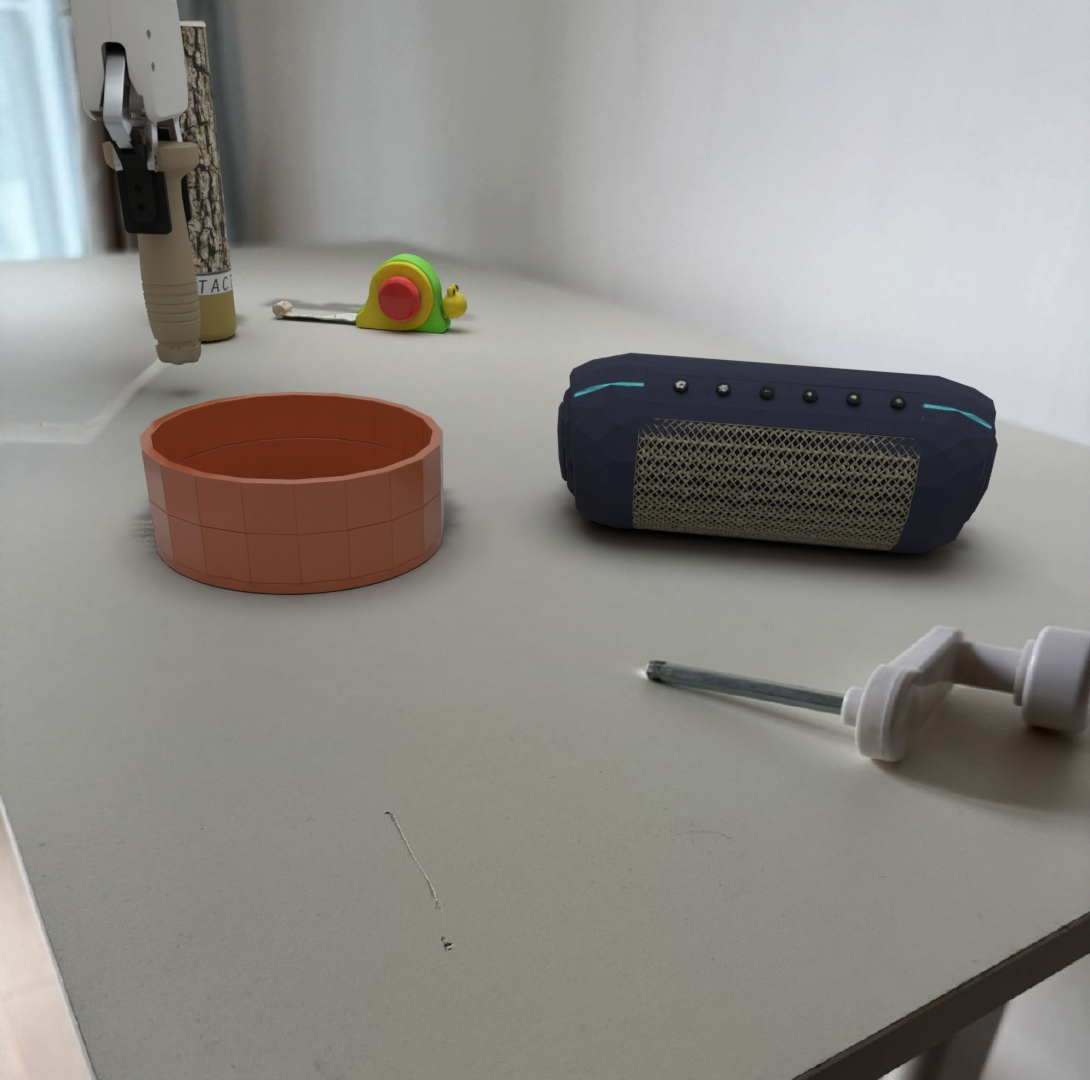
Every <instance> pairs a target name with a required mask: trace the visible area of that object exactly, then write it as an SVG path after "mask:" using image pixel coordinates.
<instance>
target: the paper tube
mask: <svg viewBox="0 0 1090 1080" xmlns="http://www.w3.org/2000/svg"><path fill="white" fill-rule="evenodd" d="M179 20H180V27H181V34H182V41H183V49H184V57H185V65H186V75H187V86H188V107H187V109H186V110H185V111H184V112H183V113H182V114H181V115H180V116H179V124H180V125H181V128H180V130H181V136H182V142H190V143H196V144H198V151H199V164H198V165H197V167H195V168H194V169H193V170H192V171H190V172H188V173H187V179H188V187H189V195H190V203H191V212H192V219H191V220H190V221H189V222H186V224H187V230H188V236H189V241H190V246H191V251H192V257H193V262H194V267H195V272H196V278H197V280H196V282H197V284H198V290H197V291H198V292H199V299H198V300H199V301H200V307H199V309H200V320H201V328H200V337H199V338H198V341H201V343H204V342H203V341H206V342H215V340H216V341H221V340H226V339H229V338H231V337H232V336H233V335H235V333H236V331H237V327H238V325H237V316H236V306H235V296H234V284H233V274H232V268H231V267H232V265H231V263H232V262H231V254H230V245H229V234H228V225H227V224H228V223H227V216H226V206H225V205H226V204H225V197H224V196H225V195H224V187H223V186H224V185H223V175H222V166H221V156H220V148H219V146H220V145H219V137H218V127H217V119H216V117H217V116H216V109H215V99H214V98H215V97H214V89H213V88H214V87H213V80H212V71H211V61H210V60H211V59H210V49H209V40H208V31H207V26H206V25H207V24H206V23H205V21H204V20H203V19H199V18H182V17H179ZM130 115H131V118H135V114H134V113H130Z"/></svg>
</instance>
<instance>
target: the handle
mask: <svg viewBox="0 0 1090 1080" xmlns="http://www.w3.org/2000/svg"><path fill="white" fill-rule="evenodd" d="M143 142H144V144H145V140H143ZM102 151H103V157H104V161H105V164H107V166H109V167H110V168H111V169H112V170H115V171H116V169H115V166H114V160H113V146H112V144H111V142H110V140H108V141H105V142H103V143H102ZM158 155H159V171H165V176H166V183H167V191H168V199H169V206H170V214H171V222H172V231H171V233H169V234H166V235H162V234H136V235H137V246H138V256H139V257H138V258H139V270H140V279H141V288H142V291H143V292H142V293H143V299H144V306H145V309H146V315H147V318H148V322H149V323H148V324H149V327H150V329H151V330H150V331H151V333H152V336H153V338H154V339H155V340H156V341H157V344H155V345H154V346H155V347H154V348H155V351H156V355H157V358H158V360H159V361H160V362H161V363H164V364H173V365H175V366H182V365H185V364H195V363H197V362H199V360H200V358H201V356H202V342H201V341H198V338H199V337H200V328H201V320H200V309H199V307H200V301H199V300H198V299H199V292H198V291H197V290H198V284H197V282H196V280H197V278H196V272H195V267H194V262H193V257H192V251H191V246H190V241H189V236H188V230H187V224H186V218H185V212H184V206H183V201H182V193H181V179H182V178H183V176H184V175H186V174H187V173H188V172H190V171H192V170H193V169H194V168H195V167H197V165H198V164H199V151H198V144H196V143H190V142H177V141H158Z"/></svg>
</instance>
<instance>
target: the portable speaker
mask: <svg viewBox="0 0 1090 1080" xmlns="http://www.w3.org/2000/svg"><path fill="white" fill-rule="evenodd" d="M996 417H997V409H996V405H995V402H994V400H993V399H992V398H991V397H989V396H988V395H986V394H985V393H983V392H981V391H980V390H979V389H977V388H975V387H973V386H970V385H966V384H964V383H961V382H958V381H955V380H952V379H949V378H946V377H943V376H941V375H934V374H922V373H921V374H919V373H906V372H894V371H881V370H867V369H855V368H840V367H828V366H827V367H826V366H815V365H801V364H787V363H774V362H761V361H748V360H747V361H746V360H733V359H722V358H707V357H695V356H683V355H682V356H681V355H669V354H655V353H654V354H653V353H642V352H641V353H640V352H627V353H621V354H615V355H610V356H605V357H599V358H593V359H591V360H588V361H585V362H584V363H582V364H580V365H577V366H575V367H573V368H572V370H571V371H570V373H569V387H568V388H567V389H566V390H565V391H564V394H563V397H562V401H561V402H560V404H559V406H558V411H557V426H556V428H557V429H556V433H557V453H558V454H557V457H558V463H559V468H560V475H561V478H562V480H563V481H564V482H566V487H567V490H568V491H569V492H570V493H571V495H572V496H573V497H574V506H575V508H576V510H577V511H578V513H579V514H581V515H583V516H584V517H586V518H588V519H590V520H592V521H593V522H595V523H597V524H600V525H604V526H607V527H611V528H616V529H631V530H643V531H654V532H667V533H675V534H687V535H688V534H689V535H697V536H698V535H700V536H711V537H721V538H722V537H723V538H732V539H743V540H756V541H766V542H778V543H789V544H800V545H801V544H802V545H811V546H821V547H822V546H823V547H835V548H845V549H855V550H856V549H857V550H868V551H877V552H878V551H879V552H880V551H881V552H890V553H900V554H918V553H919V554H920V553H921V554H922V553H929V552H931V551H933V550H936V549H938V548H941V547H943V546H946V545H949V544H951V543H953V542H955V541H956V539H957V537H958V536H959V534H960V533H961V531H962V529H963V527H964V526H965V524H966V523H967V522H969V521H970V519H971V517H972V516H973V514H975V512H976V511H977V508H978V507H979V505H980V503H981V501H982V499H983V497H984V496H985V494H986V492H987V490H988V489H989V484H990V481H991V476H992V473H993V469H994V466H995V461H996V456H997V450H998V447H999V444H998V440H997V436H996V435H997V430H996V419H997V418H996Z"/></svg>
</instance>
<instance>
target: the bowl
mask: <svg viewBox="0 0 1090 1080" xmlns="http://www.w3.org/2000/svg"><path fill="white" fill-rule="evenodd" d="M139 442H140V450H141V456H142V462H143V469H144V474H145V482H146V489H147V494H148V501H149V508H150V515H151V522H152V527H153V528H152V529H153V535H154V541H155V546H156V550H157V554H159V557H160V558H161V560H162V561H163V562H164V563H165V564H166V565H167V566H168V567H170V568H171V569H172V570H174V571H176V572H177V573H178V574H180V575H183V576H185V577H187V578H189V579H192V580H194V581H197V582H200V583H203V584H207V585H211V586H213V587H217V588H223V589H227V590H228V589H229V590H233V591H240V592H248V593H257V594H275V595H298V594H299V595H301V594H317V593H327V592H337V591H343V590H349V589H354V588H355V589H356V588H360V587H365V586H369V585H372V584H373V585H374V584H377V583H380V582H384V581H387V580H389V579H394V578H395V577H398V576H401V575H403V574H406V573H408V572H410V571H412V570H413V569H415V568H417V567H419V566H421V565H422V564H423V563H425V562H426V561H428V560H429V559H430V558H431V557H432V556H434V554H435V553H436V552H437V551H438V549H439V548H440V546H441V545H442V544H441V543H442V542H443V541H442V540H443V537H444V535H443V529H444V528H443V527H444V519H445V517H444V515H445V514H444V513H445V511H444V509H445V508H444V507H445V506H444V505H445V504H444V502H445V501H444V499H445V498H444V431H443V429H442V428H441V426H439V424H438V423H437V422H436V420H434V419H433V418H432V417H431V416H430V415H428V414H425V413H423V412H421V411H419V410H417V409H415V408H413V407H411V406H408V405H405V404H402V403H397V402H394V401H389V400H386V399H382V398H378V397H371V396H363V395H356V394H347V393H337V392H319V391H317V392H315V391H280V392H262V393H249V394H243V395H236V396H235V395H234V396H230V397H221V398H216V399H210V400H206V401H203V402H200V403H199V402H198V403H196V404H192V405H187V406H184V407H181V408H177V409H176V410H174V411H171V412H169V413H166V414H165V415H163V416H161V417H159V418H157V419H154V420H152V421H151V423H150V424H149V425H148V426H147V427H146V428H145V429H144V430H143V431H142V432H141V433H140V434H139Z"/></svg>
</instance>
